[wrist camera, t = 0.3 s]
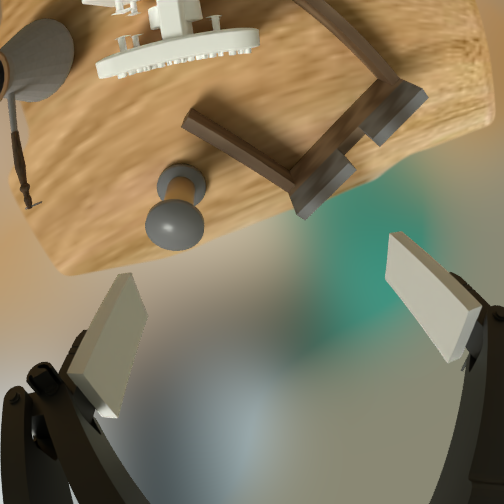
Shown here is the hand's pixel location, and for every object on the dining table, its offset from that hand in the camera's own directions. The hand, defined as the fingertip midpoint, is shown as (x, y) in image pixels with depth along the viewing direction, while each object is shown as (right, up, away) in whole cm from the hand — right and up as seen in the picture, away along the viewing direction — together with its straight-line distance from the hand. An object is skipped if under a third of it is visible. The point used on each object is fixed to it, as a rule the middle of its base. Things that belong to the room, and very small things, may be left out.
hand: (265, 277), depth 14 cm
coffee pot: (-26, +23, +13) cm, 37 cm away
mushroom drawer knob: (-11, +11, +26) cm, 30 cm away
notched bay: (+5, +22, +18) cm, 29 cm away
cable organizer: (-9, +28, +10) cm, 31 cm away
